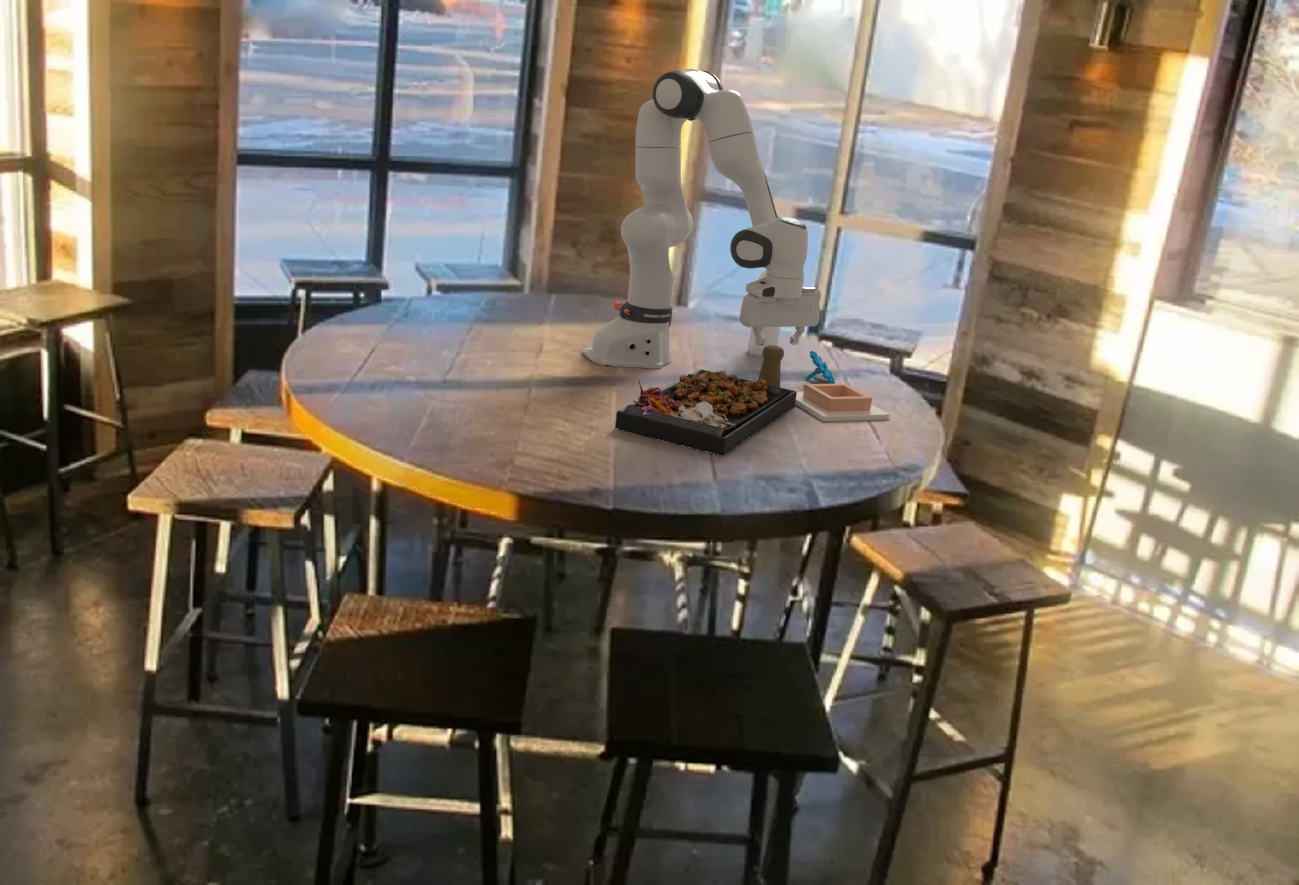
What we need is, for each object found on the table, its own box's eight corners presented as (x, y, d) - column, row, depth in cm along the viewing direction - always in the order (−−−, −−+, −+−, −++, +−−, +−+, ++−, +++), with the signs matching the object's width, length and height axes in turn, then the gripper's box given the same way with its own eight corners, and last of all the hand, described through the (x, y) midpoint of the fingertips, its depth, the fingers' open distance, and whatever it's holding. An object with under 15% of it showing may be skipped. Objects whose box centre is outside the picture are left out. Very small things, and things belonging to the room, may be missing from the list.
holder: (822, 421, 278) (825, 403, 276) (783, 397, 293) (786, 380, 292) (888, 419, 285) (891, 402, 284) (847, 395, 300) (849, 379, 299)
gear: (834, 383, 304) (811, 350, 304) (814, 396, 306) (791, 364, 306) (840, 379, 314) (818, 347, 315) (821, 392, 316) (799, 360, 317)
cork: (782, 389, 300) (789, 345, 296) (776, 395, 294) (783, 350, 291) (758, 384, 301) (765, 341, 298) (752, 390, 296) (758, 346, 292)
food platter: (722, 459, 247) (729, 410, 244) (614, 431, 256) (619, 384, 253) (794, 409, 287) (800, 367, 283) (698, 386, 296) (703, 345, 292)
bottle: (743, 353, 329) (758, 242, 320) (752, 347, 336) (767, 239, 327) (771, 359, 327) (788, 247, 317) (780, 353, 334) (796, 244, 324)
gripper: (814, 284, 296) (807, 340, 301) (740, 284, 288) (733, 341, 292) (828, 290, 291) (820, 346, 295) (752, 290, 283) (746, 348, 287)
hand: (776, 344), depth 294 cm, fingers open, 8 cm apart
